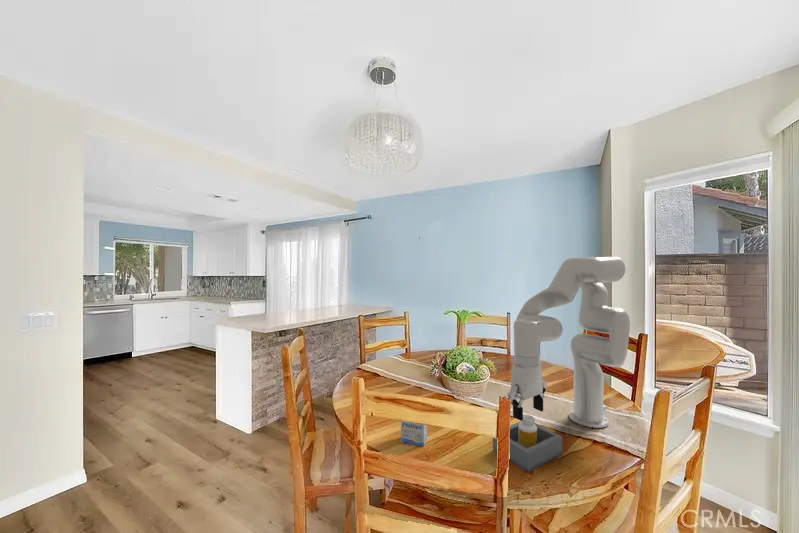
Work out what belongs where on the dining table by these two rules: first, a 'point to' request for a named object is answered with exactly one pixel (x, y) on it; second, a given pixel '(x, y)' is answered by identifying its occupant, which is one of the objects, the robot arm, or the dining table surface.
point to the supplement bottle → (527, 432)
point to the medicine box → (413, 433)
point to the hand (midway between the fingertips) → (528, 414)
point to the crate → (533, 448)
